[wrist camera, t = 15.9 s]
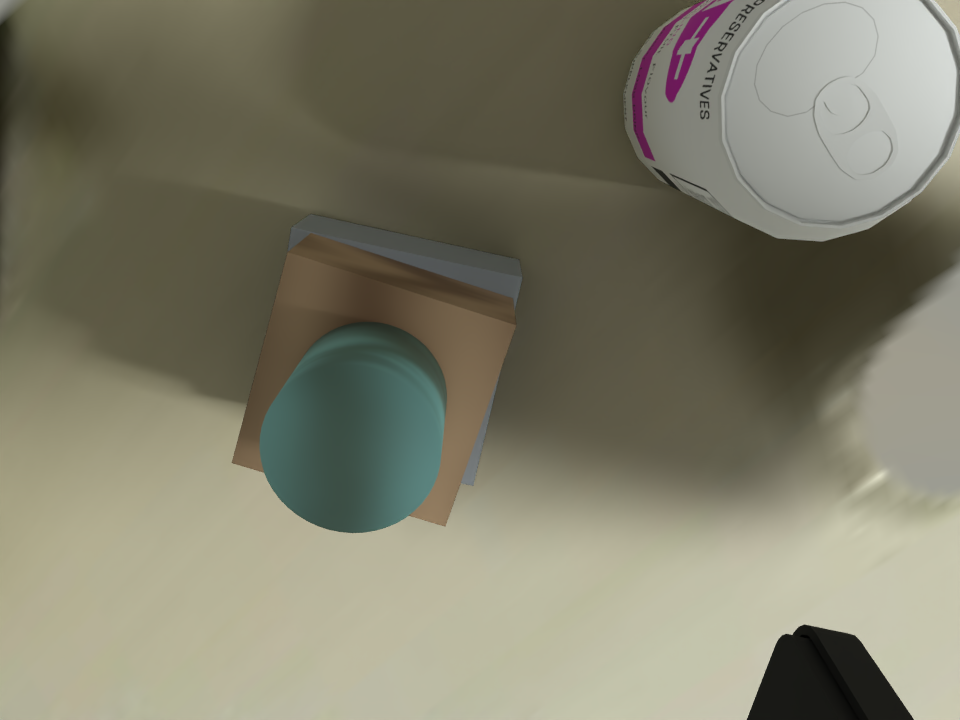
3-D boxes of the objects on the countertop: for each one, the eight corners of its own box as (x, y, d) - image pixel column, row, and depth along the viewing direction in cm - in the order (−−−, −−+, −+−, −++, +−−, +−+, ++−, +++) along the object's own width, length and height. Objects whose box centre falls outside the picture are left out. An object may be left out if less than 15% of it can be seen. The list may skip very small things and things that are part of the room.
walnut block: (512, 298, 37) (516, 325, 33) (449, 479, 40) (445, 526, 36) (310, 232, 36) (287, 251, 32) (259, 421, 39) (231, 463, 35)
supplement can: (585, 80, 39) (642, 73, 24) (745, -38, 37) (907, -121, 23) (681, 228, 40) (789, 302, 26) (838, 121, 39) (1042, 137, 25)
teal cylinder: (457, 334, 33) (453, 380, 28) (435, 476, 35) (427, 544, 30) (301, 310, 33) (267, 351, 28) (286, 454, 35) (252, 519, 29)
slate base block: (518, 258, 41) (522, 277, 37) (474, 447, 44) (473, 485, 40) (311, 212, 41) (291, 227, 36) (280, 407, 44) (258, 442, 39)
